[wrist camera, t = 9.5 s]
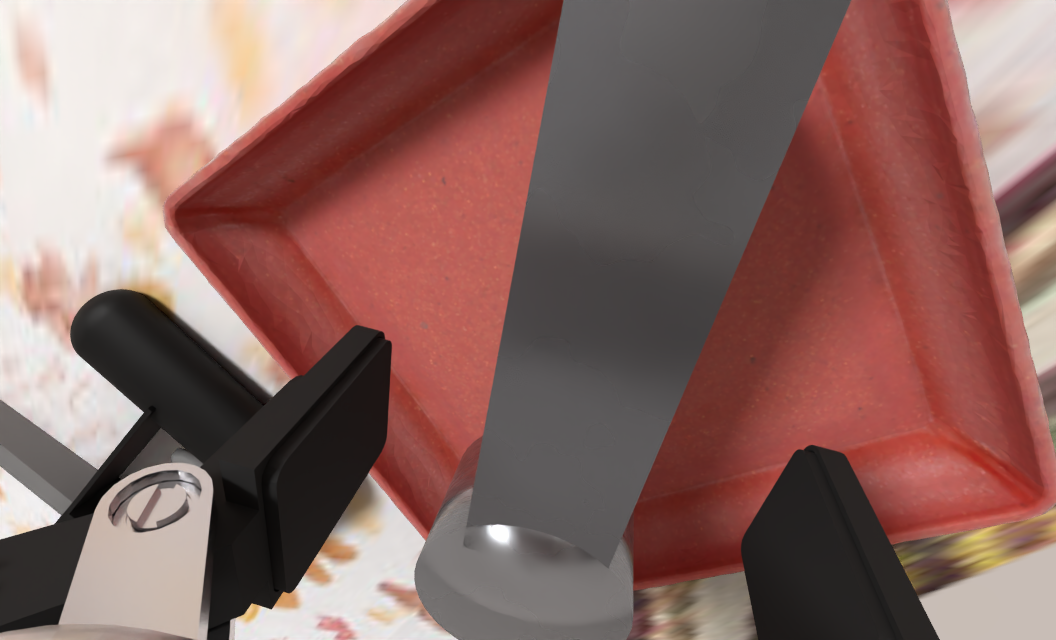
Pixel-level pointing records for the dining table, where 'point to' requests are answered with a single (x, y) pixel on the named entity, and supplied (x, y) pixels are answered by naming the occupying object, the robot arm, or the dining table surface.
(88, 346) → the door handle
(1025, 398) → the plant saucer
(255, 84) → the dining table surface
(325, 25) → the dining table surface
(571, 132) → the ball joint lever
